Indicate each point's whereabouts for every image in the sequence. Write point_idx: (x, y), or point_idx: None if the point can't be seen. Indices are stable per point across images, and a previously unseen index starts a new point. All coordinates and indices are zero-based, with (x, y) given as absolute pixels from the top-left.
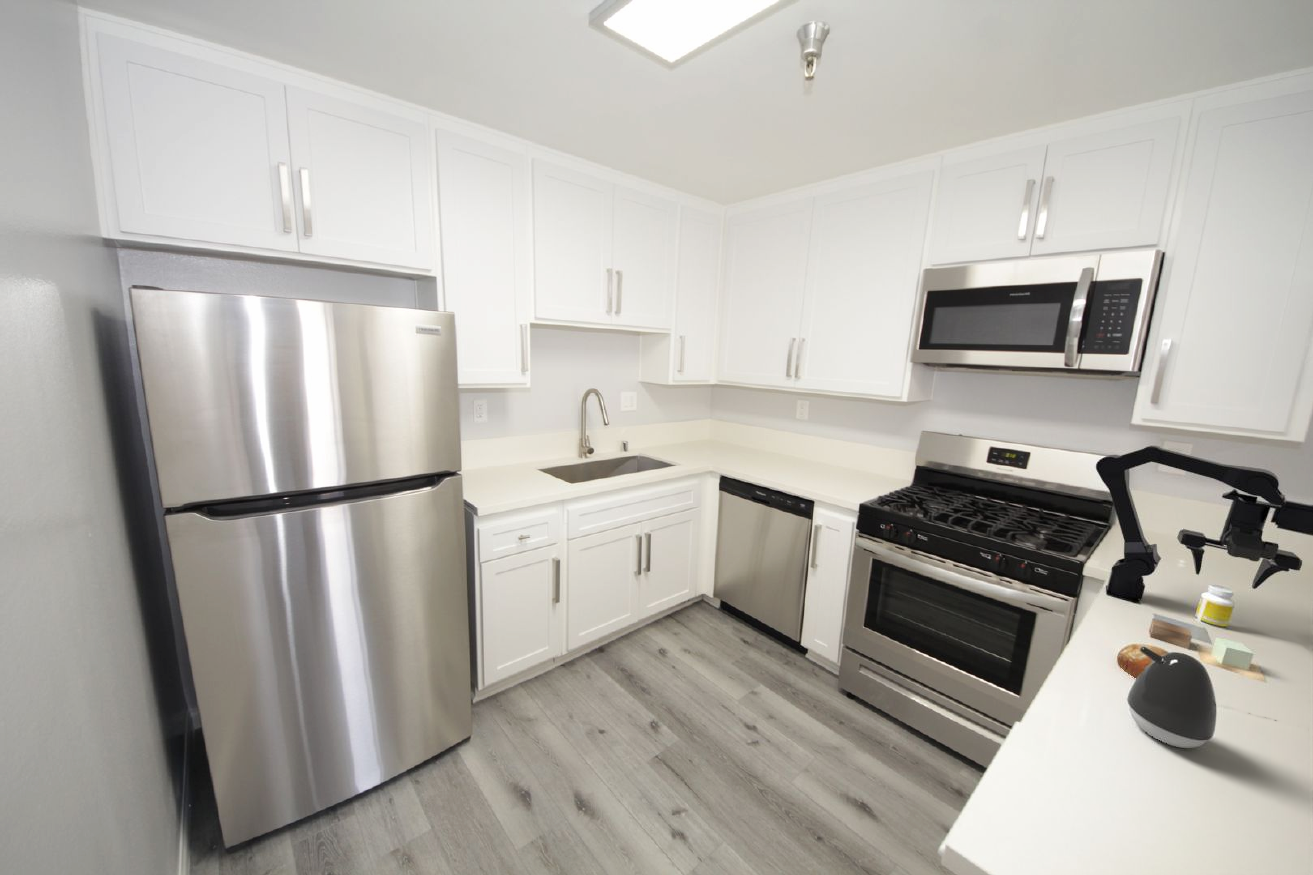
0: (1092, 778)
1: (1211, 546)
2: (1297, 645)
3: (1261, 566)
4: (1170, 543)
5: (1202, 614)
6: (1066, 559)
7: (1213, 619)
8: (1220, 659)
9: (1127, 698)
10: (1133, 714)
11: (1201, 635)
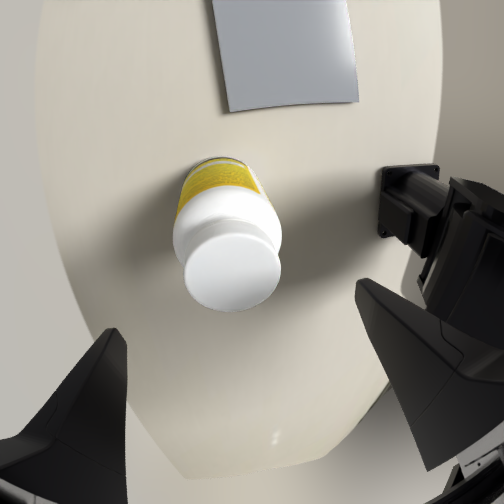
0: None
1: (447, 495)
2: (68, 261)
3: (109, 476)
4: (282, 460)
5: (249, 171)
6: None
7: (217, 163)
8: None
9: None
10: None
11: (238, 30)
